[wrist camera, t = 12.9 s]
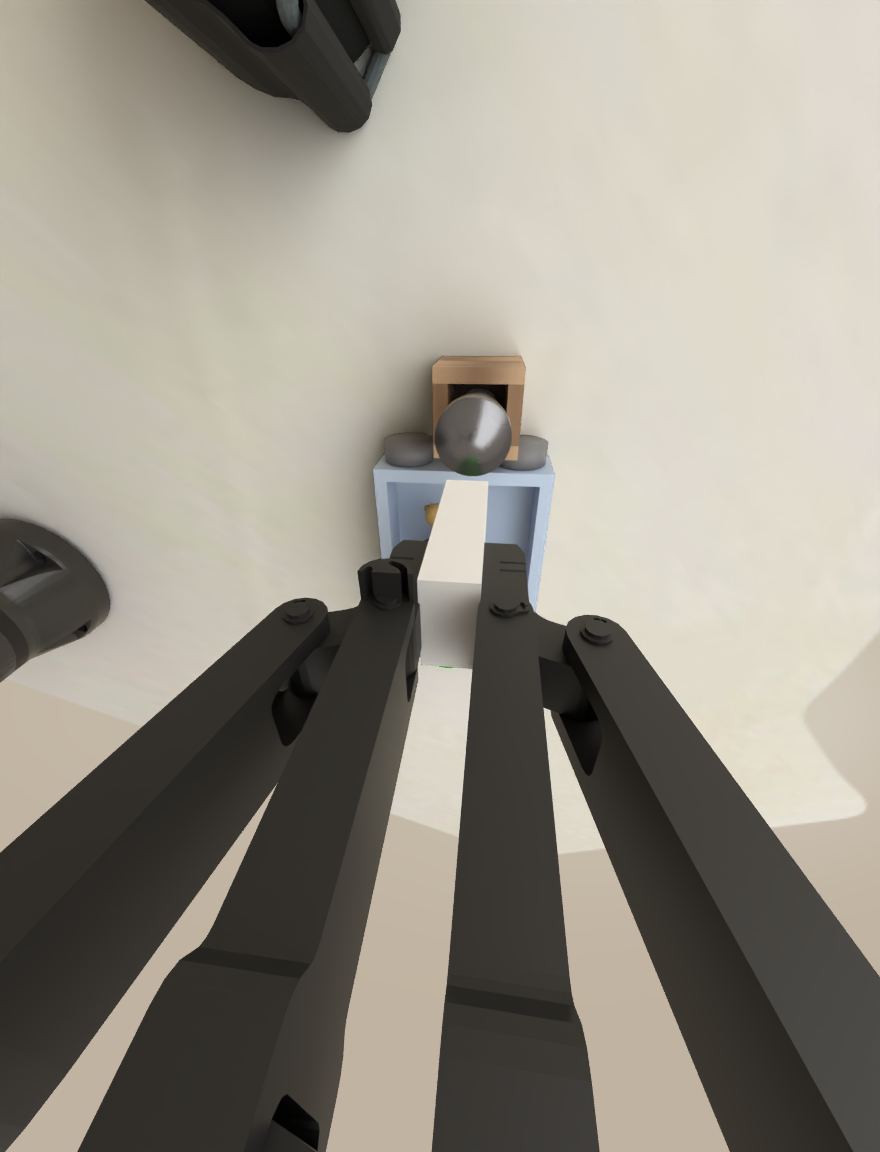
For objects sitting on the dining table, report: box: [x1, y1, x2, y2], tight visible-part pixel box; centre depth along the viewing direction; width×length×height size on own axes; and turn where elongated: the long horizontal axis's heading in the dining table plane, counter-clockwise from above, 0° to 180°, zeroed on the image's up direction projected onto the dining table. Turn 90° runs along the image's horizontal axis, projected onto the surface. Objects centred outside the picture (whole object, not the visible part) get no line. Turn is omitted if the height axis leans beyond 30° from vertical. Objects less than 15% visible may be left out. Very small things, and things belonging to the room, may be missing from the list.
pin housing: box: [432, 356, 526, 460], centre depth 32 cm, size 6×6×6 cm
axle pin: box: [434, 388, 512, 476], centre depth 28 cm, size 4×4×7 cm
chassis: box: [373, 433, 555, 613], centre depth 40 cm, size 14×20×4 cm
